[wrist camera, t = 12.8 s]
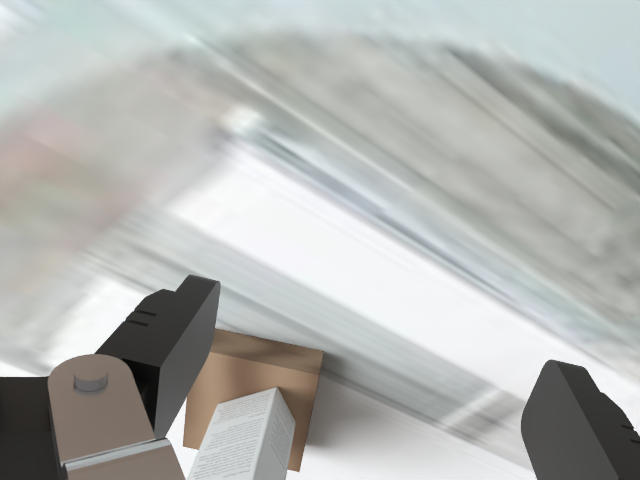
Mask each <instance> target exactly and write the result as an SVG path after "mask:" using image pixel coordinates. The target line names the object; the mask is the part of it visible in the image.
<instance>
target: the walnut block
mask: <svg viewBox="0 0 640 480" xmlns="http://www.w3.org/2000/svg"><path fill="white" fill-rule="evenodd" d="M323 353H324V351H321V350H316V349H311V348H306V347H302V346H297V345H292V344H287V343H282V342H278V341H273V340H268V339H263V338H258V337H254V336H249V335H244V334H239V333H235V332H230V331H225V330H220V329H215V330H214V337H213V342H212V346H211V349H210V352H209V355H208V357H207V360H206V362H205V364H204V366H203V367H202V369H201V371H200V373H199V375H198V377H197V379H196V380H195V382H194V384H193V386H192V388H191V390H190V392H189V393H188V395H187V403H186V415H185V426H184V438H183V446H184V447H188V448H193V449H197V450H199V448H200V446H201V443H202V441H203V439H204V436H205V434H206V431H207V429H208V426H209V424H210V421H211V419H212V416H213V414H214V412H215V409H216V407H217V405H218V404H220V403H223V402H227V401H230V400H234V399H237V398H241V397H244V396H248V395H251V394H254V393H258V392H261V391H265V390H268V389H272V388H275V387H278V388H279V391H280V393H281V394H282V396H283V398H284V400H285V402H286V404H287V406H288V408H289V410H290V412H291V414H292V416H293V417H294V419H295V422H296V425H295V430H294V436H293V441H292V447H291V452H290V457H289V463H288V468H287V469H288V470H293V471H297V472H299V471H300V466H301V461H302V456H303V452H304V447H305V442H306V437H307V432H308V428H309V423H310V418H311V413H312V408H313V403H314V399H315V394H316V389H317V384H318V379H319V374H320V369H321V364H322V358H323Z"/></svg>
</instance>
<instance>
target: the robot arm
mask: <svg viewBox="0 0 640 480" xmlns="http://www.w3.org/2000/svg"><path fill="white" fill-rule="evenodd" d="M219 295H220V282H219V281H216V280H212V279H208V278H203V277H199V276H195V275H188V277H187V278H186V279H185V280H184V281H183V283H182V284H181V285H180V286H179V288H178V289H177V290H176V291H175V292H174V291H170V290H165V289H162V290H160V291H158V292H155V293H153V294H151V295H149V296H147V297H145V298H144V299H143V300H142V301H141V303H140V304H139V305H138V306H137V307H136V308H135V310H134V312H133V311H132V313H131V314H130V315H129V316H128V317H127V318H126V320H125V322H124V321H123V322H122V324H121V325H120V326H119V327H118V328H117V329H116V330H115V331H114V332H113V334H112V335H111V336H110V337H109V338H108V339H107V340H106V341H105V342H104V344H103V345H102V346H101V347H100V348H99V349H98V350H97V351H96V352H95V353H94V354H90V355H83V356H78V357H75V358H71V359H69V360H67V361H65V362H63V363H61V364H60V365H58V366H57V367H56V368H55V369H54V370H53V371H52V372H51V374H50V376H47V377H0V480H185V477H184V474H183V472H182V469H181V467H180V464H179V462H178V459H177V457H176V454H175V452H174V449H173V447H172V444H171V443H170V441H169V440H168V439H167V438H165V436H166V434H167V432H168V431H169V429H170V427H171V425H172V423H173V421H174V419H175V418H176V416H177V414H178V412H179V410H180V408H181V406H182V405H183V403H184V401H185V399H186V397H187V395H188V393H189V392H190V390H191V388H192V386H193V384H194V382H195V380H196V379H197V377H198V375H199V373H200V371H201V369H202V367H203V366H204V364H205V362H206V360H207V357H208V355H209V352H210V349H211V346H212V342H213V337H214V330H215V323H216V316H217V309H218V302H219ZM633 429H634V427H633V426H632V424H631V423H630V421H629V419H628V418H627V416H626V415H625V413H624V412H623V410H622V409H621V408H620V407H618V406H617V405H616V404H615V403H614V402H613V401H612V400H611V399H610V398H609V397H608V396H606V395H605V394H604V393H601V392H600V391H599V389H598V387H597V386H596V384H595V383H594V381H593V379H592V378H591V376H590V375H589V373H588V371H587V370H586V369H585V368H584V367H582V366H577V365H573V364H569V363H564V362H560V361H556V360H549V361H547V362H546V363H545V365H544V366H543V368H542V370H541V373H540V375H539V377H538V379H537V382H536V384H535V386H534V388H533V390H532V393H531V395H530V397H529V399H528V402H527V404H526V406H525V408H524V411H523V414H522V419H521V433H522V438H523V441H524V444H525V446H526V449H527V452H528V455H529V458H530V460H531V463H532V466H533V469H534V472H535V475H536V477H537V480H640V436H639V435H638V433H637V432H636V431H634V430H633Z"/></svg>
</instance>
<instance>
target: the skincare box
mask: <svg viewBox="0 0 640 480" xmlns="http://www.w3.org/2000/svg"><path fill="white" fill-rule="evenodd" d="M295 425H296V422H295V419H294V417H293V416H292V414H291V412H290V410H289V408H288V406H287V404H286V402H285V400H284V398H283V396H282V394H281V393H280V391H279V388H278V387H275V388H272V389H268V390H265V391H261V392H258V393H254V394H251V395H248V396H244V397H241V398H237V399H234V400H230V401H227V402H223V403H220V404H218V405H217V407H216V409H215V412H214V414H213V416H212V419H211V421H210V424H209V426H208V429H207V431H206V434H205V436H204V439H203V441H202V443H201V446H200V448H199V451H198V453H197V456H196V458H195V461H194V463H193V466H192V468H191V470H190V473H189V475H188V478H187V480H285V479H286V473H287V468H288V463H289V457H290V452H291V447H292V441H293V436H294V430H295Z"/></svg>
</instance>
